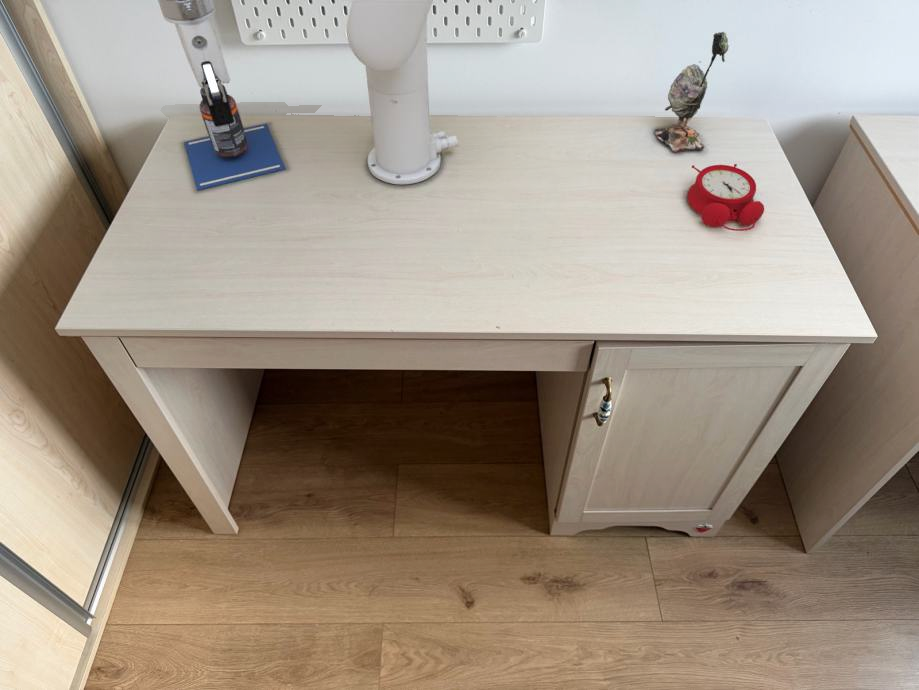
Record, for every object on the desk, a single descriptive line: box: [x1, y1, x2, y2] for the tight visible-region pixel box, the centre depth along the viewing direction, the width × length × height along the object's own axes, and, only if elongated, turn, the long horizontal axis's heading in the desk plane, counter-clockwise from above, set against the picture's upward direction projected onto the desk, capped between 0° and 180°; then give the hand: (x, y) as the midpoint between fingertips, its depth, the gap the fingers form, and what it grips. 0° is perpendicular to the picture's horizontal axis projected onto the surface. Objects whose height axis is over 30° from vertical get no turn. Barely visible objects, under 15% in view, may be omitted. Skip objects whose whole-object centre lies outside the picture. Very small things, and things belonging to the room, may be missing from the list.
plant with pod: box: [653, 31, 730, 153], centre depth 114 cm, size 8×11×20 cm
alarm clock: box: [686, 163, 765, 232], centre depth 107 cm, size 10×6×15 cm
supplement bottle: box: [198, 84, 248, 157], centre depth 114 cm, size 6×6×11 cm
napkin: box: [183, 123, 286, 191], centre depth 119 cm, size 15×15×1 cm
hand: (220, 112), depth 113 cm, fingers closed on supplement bottle, 5 cm apart
